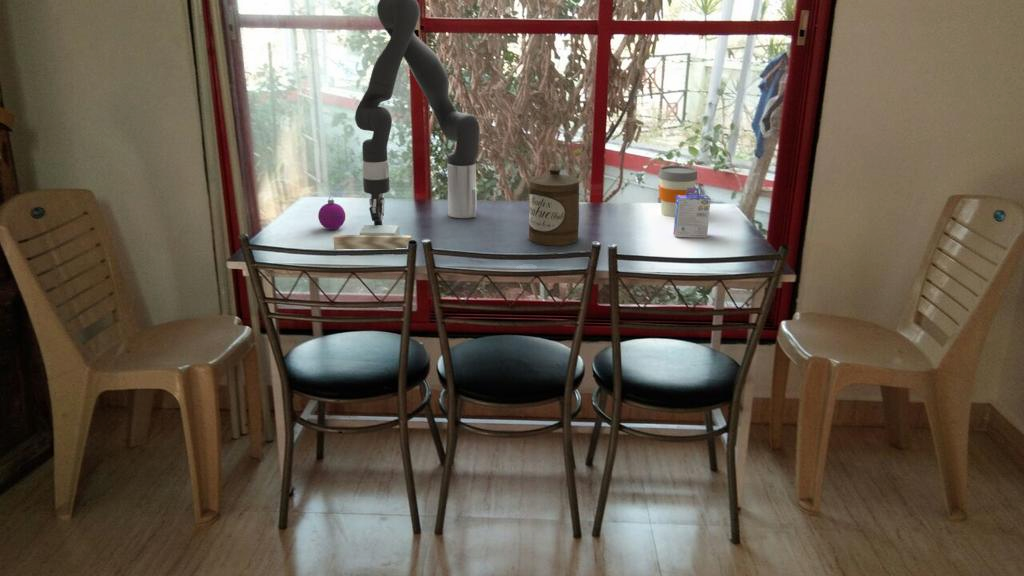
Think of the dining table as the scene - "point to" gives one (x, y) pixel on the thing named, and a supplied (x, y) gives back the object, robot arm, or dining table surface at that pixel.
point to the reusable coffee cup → (674, 186)
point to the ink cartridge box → (691, 215)
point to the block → (380, 230)
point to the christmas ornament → (331, 215)
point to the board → (371, 241)
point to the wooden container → (554, 208)
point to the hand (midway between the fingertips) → (378, 232)
